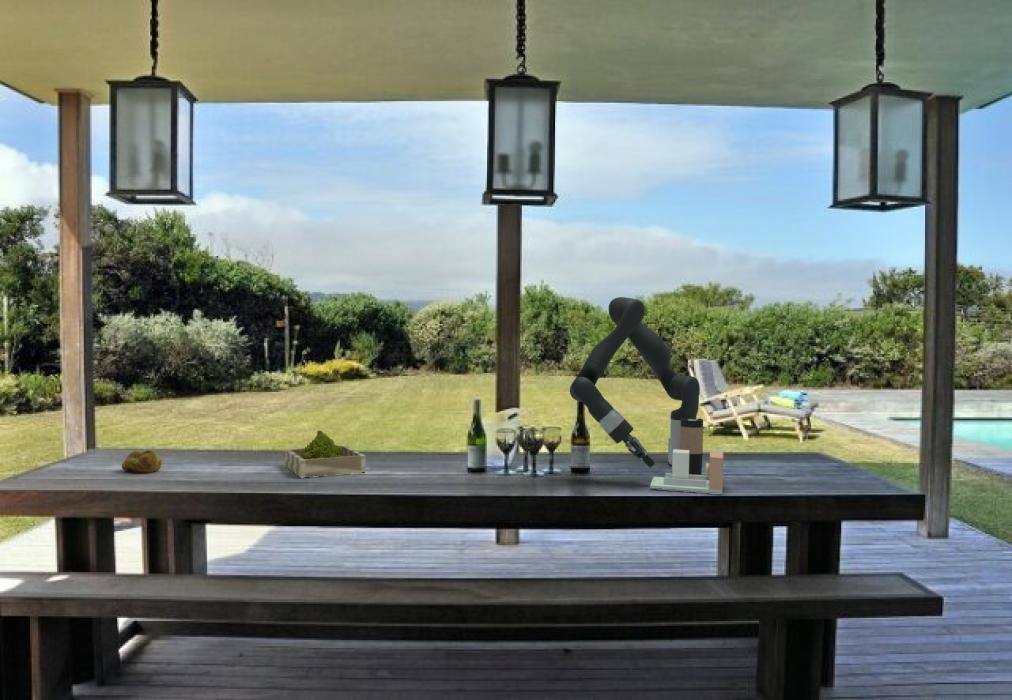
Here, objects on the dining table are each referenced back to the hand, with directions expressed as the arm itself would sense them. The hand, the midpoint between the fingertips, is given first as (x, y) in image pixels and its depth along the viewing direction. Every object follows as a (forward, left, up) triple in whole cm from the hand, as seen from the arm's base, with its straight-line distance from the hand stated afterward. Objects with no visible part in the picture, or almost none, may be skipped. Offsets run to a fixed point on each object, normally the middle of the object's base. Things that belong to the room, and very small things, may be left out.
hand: (652, 465), depth 255 cm
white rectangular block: (+6, +7, -5) cm, 10 cm away
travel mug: (-5, +21, -7) cm, 22 cm away
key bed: (+7, +8, -7) cm, 13 cm away
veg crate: (-69, -88, -7) cm, 112 cm away
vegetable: (-70, -89, -7) cm, 114 cm away
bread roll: (-92, -145, -7) cm, 172 cm away
